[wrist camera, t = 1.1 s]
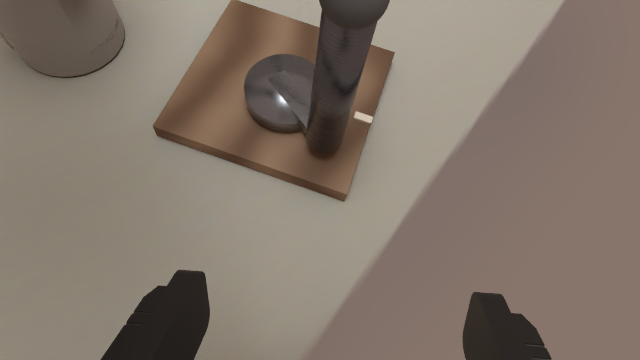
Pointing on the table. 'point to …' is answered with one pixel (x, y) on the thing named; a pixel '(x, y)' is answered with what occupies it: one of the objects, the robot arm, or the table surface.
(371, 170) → the table surface
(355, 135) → the walnut stand base
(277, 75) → the grey upright post stand
